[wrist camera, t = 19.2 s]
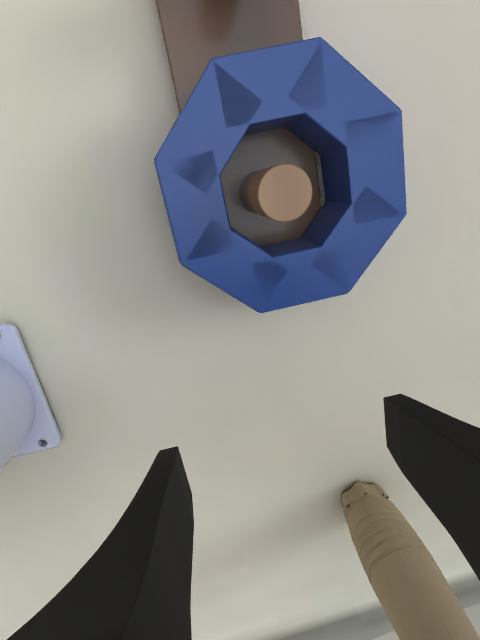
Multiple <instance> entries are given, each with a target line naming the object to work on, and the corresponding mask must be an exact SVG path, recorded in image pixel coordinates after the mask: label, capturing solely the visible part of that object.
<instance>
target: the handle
mask: <svg viewBox="0 0 480 640" xmlns="http://www.w3.org/2000/svg"><path fill="white" fill-rule="evenodd" d="M341 499H342V502H343V505H344V510H343V511H344V515H345V518H346V521H347V523H348V527H349V530H350V534H351V537H352V540H353V543H354V545H355V548H356V550H357V553H358V556H359V558H360V561H361V563H362V565H363V568H364V570H365V572H366V574H367V576H368V579H369V581H370V583H371V585H372V588H373V590H374V591H375V593H376V595H377V597H378V599H379V601H380V603H381V605H382V607H383V609H384V610H385V612H386V614H387V616H388V618H389V620H390V622H391V624H392V626H393V628H394V629H395V631H396V633H397V635H398V637H399V639H400V640H480V637H479V636H478V634H477V632H476V631H475V629H474V627H473V626H472V624H471V622H470V620H469V619H468V617H467V615H466V614H465V612H464V610H463V608H462V607H461V605H460V603H459V602H458V600H457V598H456V596H455V595H454V593H453V591H452V590H451V588H450V586H449V584H448V583H447V581H446V579H445V578H444V576H443V574H442V572H441V571H440V569H439V567H438V566H437V564H436V562H435V560H434V559H433V557H432V556H431V554H430V553H429V551H428V550H427V548H426V547H425V545H424V544H423V542H422V541H421V539H420V538H419V536H418V535H417V533H416V532H415V531H414V529H413V528H412V527H411V525H410V524H409V523H408V521H407V520H406V519H405V517H404V516H403V515H402V514H401V512H400V511H399V510H398V509H397V508H396V507H395V505H394V504H393V503H392V502H391V501H389V500H388V499H389V497H388V495H387V494H386V493H385V492H384V490H383V489H382V488H381V487H380V486H379V485H377V484H374V483H372V484H364V483H361V482H356V483H354V485H353V486H352V487H351V488H350V489H349V490H348V491H346V492H344V493H343V495H342V497H341Z"/></svg>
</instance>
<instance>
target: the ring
mask: <svg viewBox="0 0 480 640" xmlns="http://www.w3.org/2000/svg"><path fill="white" fill-rule="evenodd" d="M282 127H286V128H287V129H288V130H289V131H291V132H292V133H293V134H295V135H296V136H297V137H298V138H300V139H301V140H302V141H303V142H305V143H306V144H307V145H308V146H310V147H311V148H312V149H313V150H315V151H316V152H317V153H318V154H320V158H321V167H322V175H323V184H324V192H325V203H324V204H323V206H322V207H321V208H320V210H319V211H318V213H317V214H316V216H315V217H314V219H313V220H312V222H311V223H310V225H309V226H308V227H307V229H306V230H305V232H304V233H303V235H302V236H301V237H300V238H296V239H291V240H287V241H282V242H278V243H273V244H269V245H264V246H258V245H257V244H255V243H254V242H253V241H251V240H250V239H248V238H247V237H245V236H244V235H242V234H241V233H239V232H238V231H236V230H235V229H233V228H232V227H230V222H229V217H228V212H227V207H226V202H225V197H224V192H223V187H222V182H221V177H220V174H221V172H222V170H223V169H224V167H225V165H226V164H227V162H228V161H229V159H230V157H231V156H232V154H233V152H234V151H235V149H236V147H237V146H238V144H239V142H240V141H241V139H242V138H243V136H244V135H248V134H253V133H258V132H263V131H268V130H273V129H278V128H282ZM154 160H155V162H154V163H155V167H156V171H157V175H158V179H159V183H160V187H161V191H162V195H163V199H164V203H165V207H166V210H167V214H168V218H169V222H170V226H171V230H172V234H173V238H174V242H175V246H176V250H177V254H178V258H179V262H180V263H181V265H182V266H184V267H185V268H187V269H189V270H190V271H192V272H193V273H195V274H197V275H198V276H200V277H202V278H203V279H205V280H206V281H208V282H210V283H211V284H213V285H215V286H216V287H218V288H219V289H221V290H223V291H224V292H226V293H228V294H229V295H231V296H232V297H234V298H236V299H237V300H239V301H241V302H242V303H244V304H246V305H247V306H249V307H250V308H252V309H254V310H255V311H257V312H260V313H264V312H269V311H273V310H277V309H282V308H286V307H291V306H295V305H299V304H304V303H308V302H312V301H317V300H321V299H325V298H330V297H334V296H339V295H343V294H347V293H348V292H350V290H351V289H352V287H353V286H354V285H355V283H356V282H357V281H358V279H359V278H360V277H361V275H362V274H363V273H364V271H365V270H366V268H367V267H368V266H369V264H370V263H371V262H372V260H373V259H374V258H375V256H376V255H377V254H378V252H379V251H380V249H381V248H382V247H383V245H384V244H385V243H386V241H387V240H388V239H389V237H390V236H391V235H392V233H393V232H394V231H395V229H396V228H397V226H398V225H399V224H400V222H401V221H402V220H403V218H404V217H405V215H406V214H407V213H406V193H405V172H404V152H403V132H402V111H401V110H400V108H399V107H398V106H397V105H396V104H394V103H393V102H392V101H391V100H390V99H389V98H388V97H387V96H386V95H384V94H383V93H382V92H381V91H380V90H379V89H378V88H377V87H376V86H374V85H373V84H372V83H371V82H370V81H369V80H368V79H367V78H366V77H364V76H363V75H362V74H361V73H360V72H359V71H358V70H357V69H356V68H354V67H353V66H352V65H351V64H350V63H349V62H348V61H347V60H346V59H344V58H343V57H342V56H341V55H340V54H339V53H338V52H337V51H336V50H335V49H333V48H332V47H331V46H330V45H329V44H328V43H327V42H326V41H325V40H323V39H321V37H318V38H313V39H308V40H302V41H297V42H292V43H287V44H282V45H277V46H272V47H266V48H261V49H256V50H251V51H246V52H241V53H236V54H230V55H225V56H220V57H215V58H212V59H211V60H210V61H209V63H208V65H207V67H206V69H205V70H204V72H203V74H202V76H201V77H200V79H199V81H198V83H197V84H196V86H195V88H194V90H193V91H192V93H191V95H190V97H189V99H188V100H187V102H186V104H185V106H184V107H183V109H182V111H181V113H180V114H179V116H178V118H177V120H176V122H175V123H174V125H173V127H172V129H171V130H170V132H169V134H168V136H167V137H166V139H165V141H164V143H163V145H162V146H161V148H160V150H159V152H158V153H157V155H156V157H155V159H154Z"/></svg>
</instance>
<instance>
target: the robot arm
mask: <svg viewBox="0 0 480 640" xmlns="http://www.w3.org/2000/svg"><path fill="white" fill-rule="evenodd" d="M0 334H1V337H0V474H1V472H2V471H3V469H4V468H5V466H6V465H7V463H8V462H9V460H10V459H11V457H16V456H20V455H24V454H29V453H33V452H37V451H42V450H46V449H50V448H54V447H57V446H58V445H59V444H60V442H61V439H62V438H61V434H60V432H59V429H58V427H57V424H56V422H55V419H54V417H53V415H52V412H51V410H50V407H49V405H48V402H47V400H46V398H45V395H44V393H43V390H42V388H41V385H40V383H39V380H38V378H37V376H36V373H35V371H34V368H33V366H32V363H31V361H30V359H29V356H28V354H27V351H26V349H25V346H24V344H23V341H22V339H21V337H20V334H19V332H18V329H17V328H16V326H15V325H13V324H12V323H9V322H7V323H0ZM384 412H385V426H386V440H387V447H388V449H389V451H390V453H391V454H392V456H393V458H394V460H395V461H396V463H397V465H398V466H399V468H400V470H401V471H402V473H403V474H404V475H405V477H406V478H407V479H408V481H409V482H410V483H411V485H412V486H413V487H414V489H415V490H416V491H417V492H418V494H419V495H420V496H421V498H422V499H423V500H424V501H425V503H426V504H427V505H428V507H429V508H430V509H431V510H432V512H433V513H434V514H435V516H436V517H437V518H438V519H439V521H440V522H441V523H442V525H443V526H444V527H445V528H446V530H447V531H448V533H449V534H450V535H451V537H452V538H453V540H454V541H455V542H456V544H457V545H458V547H459V549H460V550H461V552H462V553H463V555H464V556H465V558H466V560H467V561H468V563H469V564H470V566H471V567H472V569H473V571H474V572H475V574H476V575H477V577H478V579H479V580H480V428H478V427H475V426H473V425H470V424H468V423H465V422H463V421H461V420H458V419H456V418H454V417H451V416H449V415H447V414H445V413H442V412H440V411H438V410H436V409H434V408H431V407H429V406H427V405H425V404H423V403H421V402H419V401H416V400H414V399H412V398H410V397H407V396H405V395H402V394H397V395H393V396H389V397H384ZM42 439H43V440H46V442H47V443H43V442H41V440H42ZM193 532H194V518H193V503H192V493H191V489H190V486H189V483H188V479H187V476H186V472H185V469H184V466H183V462H182V459H181V455H180V452H179V448H178V446H177V447H173V448H168V449H164V450H160V451H159V453H158V454H157V456H156V458H155V460H154V462H153V464H152V466H151V468H150V470H149V471H148V473H147V475H146V477H145V479H144V481H143V483H142V484H141V486H140V488H139V490H138V491H137V493H136V495H135V496H134V498H133V500H132V502H131V503H130V505H129V506H128V508H127V509H126V511H125V512H124V514H123V516H122V517H121V519H120V520H119V522H118V523H117V525H116V526H115V527H114V529H113V530H112V532H111V533H110V534H109V536H108V537H107V539H106V540H105V541H104V542H103V544H102V545H101V546H100V548H99V549H98V550H97V551H96V552H95V554H94V555H93V556H92V557H91V558H90V559H89V560H88V562H87V563H86V564H85V565H84V566H83V567H82V568H81V569H80V571H79V572H78V573H77V574H76V575H75V576H74V577H73V578H72V580H71V581H70V582H69V583H68V584H67V585H66V586H65V587H64V588H63V589H62V590H61V591H60V592H59V593H58V594H57V595H56V596H55V597H54V598H53V599H52V600H51V601H50V602H49V603H48V604H47V605H45V606H44V607H43V608H42V609H41V610H40V611H39V612H38V613H37V614H36V615H35V616H34V617H33V618H31V619H30V620H29V621H28V622H27V623H26V624H24V625H23V626H22V627H21V628H20V629H19V630H17V631H16V632H15V633H14V634H13V635H12V636H11V637H9V638H8V639H7V640H192V638H191V613H190V599H191V575H192V554H193Z"/></svg>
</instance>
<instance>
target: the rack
mask: <svg viewBox="0 0 480 640" xmlns="http://www.w3.org/2000/svg"><path fill="white" fill-rule="evenodd" d="M156 5H157V9H158V14H159V19H160V23H161V28H162V33H163V37H164V42H165V47H166V51H167V56H168V61H169V66H170V70H171V75H172V80H173V84H174V89H175V94H176V98H177V103H178V108H179V113H181V111H182V109H183V107H184V106H185V104H186V102H187V100H188V99H189V97H190V95H191V93H192V91H193V90H194V88H195V86H196V84H197V83H198V81H199V79H200V77H201V76H202V74H203V72H204V70H205V69H206V67H207V65H208V63H209V61H210V60H211V59H212V58H215V57H220V56H225V55H230V54H236V53H241V52H246V51H251V50H256V49H261V48H266V47H272V46H277V45H282V44H287V43H292V42H297V41H302V40H303V38H302V29H301V20H300V11H299V2H298V0H156ZM220 177H221V182H222V187H223V192H224V197H225V202H226V207H227V212H228V217H229V222H230V227H232V228H233V229H235V230H236V231H238V232H239V233H241V234H242V235H244V236H245V237H247V238H248V239H250V240H251V241H253V242H254V243H255V244H257V245H258V246H264V245H269V244H273V243H278V242H282V241H287V240H291V239H296V238H300V237H301V236H302V235H303V233H304V232H305V230H306V229H307V227H308V226H309V225H310V223H311V222H312V220H313V219H314V217H315V216H316V214H317V213H318V211H319V210H320V208H321V202H320V193H319V184H318V175H317V166H316V157H315V150H313V149H312V148H311V147H310V146H308V145H307V144H306V143H305V142H303V141H302V140H301V139H300V138H298V137H297V136H296V135H295V134H293V133H292V132H291V131H289V130H288V129H287V128H286V127H282V128H278V129H273V130H268V131H263V132H258V133H253V134H248V135H244V136H243V138H242V139H241V141H240V142H239V144H238V146H237V147H236V149H235V151H234V152H233V154H232V156H231V157H230V159H229V161H228V162H227V164H226V165H225V167H224V169H223V170H222V172H221V174H220Z"/></svg>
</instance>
